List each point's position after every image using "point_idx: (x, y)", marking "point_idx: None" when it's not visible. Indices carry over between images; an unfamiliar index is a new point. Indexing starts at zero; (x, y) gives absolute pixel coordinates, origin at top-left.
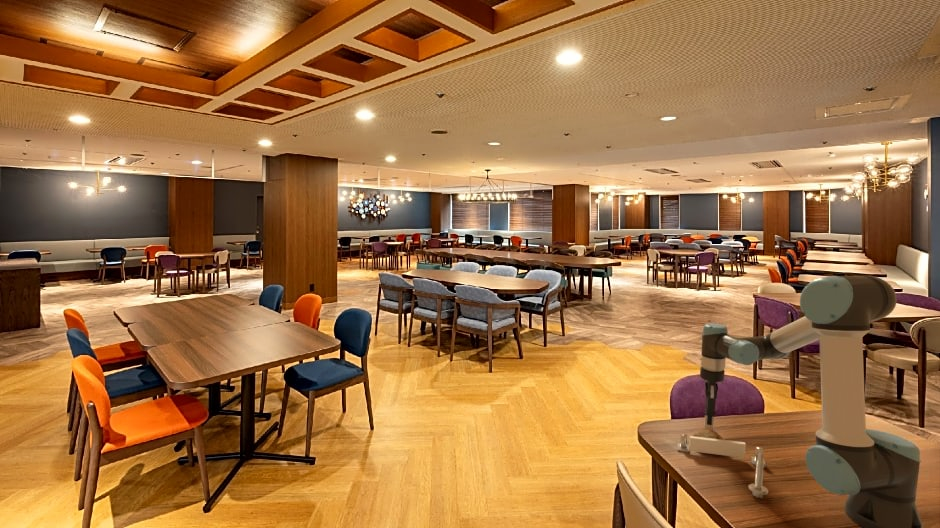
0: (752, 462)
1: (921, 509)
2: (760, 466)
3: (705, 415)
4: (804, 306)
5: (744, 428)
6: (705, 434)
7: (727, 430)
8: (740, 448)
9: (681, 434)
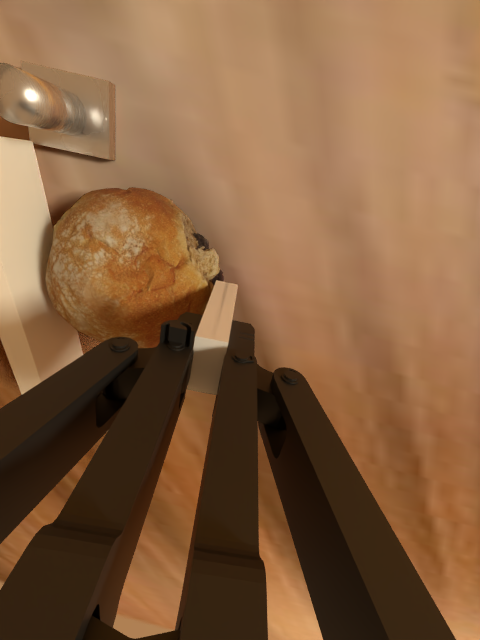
0: None
1: None
2: None
3: (196, 333)
4: None
5: (378, 447)
6: (62, 265)
7: (355, 390)
8: None
9: (9, 72)
